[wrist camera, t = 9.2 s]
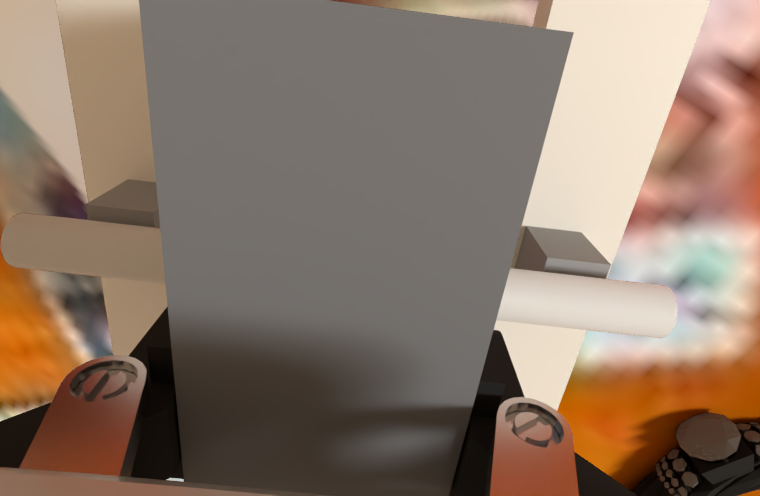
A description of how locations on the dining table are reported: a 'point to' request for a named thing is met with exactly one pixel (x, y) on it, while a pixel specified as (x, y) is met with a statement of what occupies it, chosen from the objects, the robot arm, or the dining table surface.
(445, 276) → the grey piece
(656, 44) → the cream frame with rod
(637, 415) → the dining table surface
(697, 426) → the cable lock
